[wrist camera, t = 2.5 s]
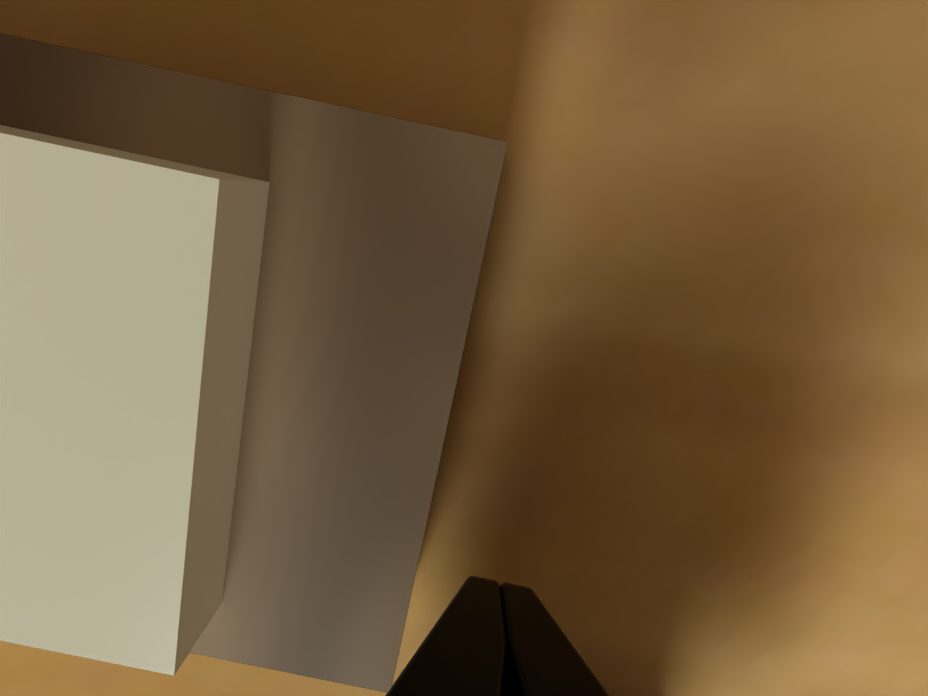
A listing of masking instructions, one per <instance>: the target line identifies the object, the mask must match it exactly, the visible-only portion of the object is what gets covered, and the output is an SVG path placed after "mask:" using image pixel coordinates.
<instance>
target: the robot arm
mask: <svg viewBox="0 0 928 696" xmlns="http://www.w3.org/2000/svg"><path fill="white" fill-rule="evenodd" d="M386 696H609V695H608V693H607V692H606V691H605V689H604V688H603V686H602V685H601V684H600V682H599V681H598V680H597V678H596V677H595V675H594V674H593V673H592V671H591V670H590V669H589V667H588V666H587V664H586V663H585V662H584V660H583V659H582V658H581V656H580V655H579V653H578V652H577V651H576V649H575V648H574V647H573V645H572V644H571V642H570V641H569V640H568V638H567V637H566V636H565V634H564V633H563V631H562V630H561V629H560V627H559V626H558V625H557V623H556V622H555V620H554V619H553V618H552V616H551V615H550V614H549V612H548V611H547V609H546V608H545V607H544V605H543V604H542V603H541V601H540V600H539V598H538V597H537V596H536V594H535V593H534V592H533V591H532V590H531V589H530V588H528V587H524V586H519V585H514V584H509V583H502V584H501V585H500V586H499V583H498V582H497V581H495V580H490V579H485V578H480V577H476V576H470V577H469V578H468V579H467V580H466V581H465V583H464V584H463V586H462V587H461V588H460V590H459V591H458V593H457V594H456V596H455V597H454V598H453V600H452V601H451V603H450V604H449V606H448V607H447V608H446V610H445V611H444V613H443V614H442V616H441V617H440V618H439V620H438V621H437V623H436V624H435V626H434V627H433V628H432V630H431V631H430V633H429V634H428V636H427V637H426V638H425V640H424V641H423V643H422V644H421V646H420V647H419V648H418V650H417V651H416V653H415V654H414V656H413V657H412V658H411V660H410V661H409V663H408V664H407V666H406V667H405V668H404V670H403V671H402V673H401V674H400V676H399V677H398V678H397V680H396V681H395V683H394V684H393V686H392V687H391V688H390V690H389V691H388V693H387V694H386Z"/></svg>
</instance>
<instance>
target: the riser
mask: <svg viewBox="0 0 928 696" xmlns="http://www.w3.org/2000/svg"><path fill="white" fill-rule="evenodd" d="M0 125H3V126H8V127H12V128H17V129H22V130H27V131H31V132H36V133H41V134H45V135H50V136H55V137H60V138H64V139H69V140H74V141H78V142H83V143H88V144H92V145H97V146H102V147H107V148H111V149H116V150H121V151H125V152H130V153H135V154H140V155H144V156H149V157H154V158H158V159H163V160H168V161H172V162H177V163H182V164H187V165H191V166H196V167H201V168H205V169H210V170H215V171H220V172H224V173H229V174H234V175H238V176H243V177H248V178H253V179H257V180H262V181H267V182H270V184H269V193H268V202H267V210H266V219H265V228H264V237H263V246H262V255H261V263H260V272H259V281H258V290H257V299H256V308H255V316H254V325H253V334H252V343H251V352H250V361H249V369H248V378H247V387H246V396H245V405H244V414H243V422H242V431H241V440H240V449H239V458H238V467H237V475H236V484H235V493H234V502H233V511H232V520H231V528H230V537H229V546H228V555H227V564H226V573H225V581H224V590H223V599H222V603H221V605H220V606H219V608H218V609H217V611H216V613H215V614H214V616H213V617H212V619H211V620H210V622H209V623H208V625H207V626H206V628H205V629H204V631H203V632H202V634H201V635H200V637H199V638H198V640H197V642H196V643H195V645H194V646H193V648H192V649H191V651H190V652H189V653H194V654H199V655H204V656H209V657H214V658H218V659H223V660H228V661H233V662H238V663H243V664H248V665H253V666H258V667H263V668H268V669H273V670H278V671H283V672H288V673H292V674H297V675H302V676H307V677H312V678H317V679H322V680H327V681H332V682H337V683H342V684H347V685H352V686H357V687H361V688H366V689H371V690H376V691H381V692H386V693H388V691H389V690H390V688H391V687H392V683H393V678H394V673H395V669H396V664H397V659H398V655H399V650H400V645H401V641H402V636H403V631H404V627H405V622H406V617H407V612H408V608H409V603H410V598H411V594H412V589H413V584H414V580H415V575H416V570H417V565H418V561H419V556H420V551H421V547H422V542H423V537H424V533H425V528H426V523H427V519H428V514H429V509H430V504H431V500H432V495H433V490H434V486H435V481H436V476H437V472H438V467H439V462H440V458H441V453H442V448H443V443H444V439H445V434H446V429H447V425H448V420H449V415H450V411H451V406H452V401H453V396H454V392H455V387H456V382H457V378H458V373H459V368H460V364H461V359H462V354H463V350H464V345H465V340H466V335H467V331H468V326H469V321H470V317H471V312H472V307H473V303H474V298H475V293H476V289H477V284H478V279H479V274H480V270H481V265H482V260H483V256H484V251H485V246H486V242H487V237H488V232H489V228H490V223H491V218H492V213H493V209H494V204H495V199H496V195H497V190H498V185H499V181H500V176H501V171H502V166H503V162H504V157H505V152H506V148H507V143H508V142H506V141H501V140H496V139H492V138H487V137H482V136H478V135H473V134H468V133H464V132H459V131H454V130H450V129H445V128H440V127H436V126H431V125H426V124H422V123H417V122H412V121H408V120H403V119H398V118H394V117H389V116H384V115H380V114H375V113H370V112H366V111H361V110H356V109H352V108H347V107H342V106H338V105H333V104H328V103H324V102H319V101H314V100H310V99H305V98H300V97H296V96H291V95H286V94H282V93H277V92H272V91H268V90H263V89H258V88H254V87H249V86H244V85H240V84H235V83H230V82H226V81H221V80H216V79H212V78H207V77H202V76H198V75H193V74H188V73H184V72H179V71H174V70H170V69H165V68H160V67H156V66H151V65H146V64H142V63H137V62H132V61H128V60H123V59H118V58H114V57H109V56H104V55H100V54H95V53H90V52H86V51H81V50H76V49H72V48H67V47H62V46H58V45H53V44H48V43H44V42H39V41H34V40H30V39H25V38H20V37H16V36H11V35H6V34H2V33H0Z"/></svg>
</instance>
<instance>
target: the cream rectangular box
mask: <svg viewBox="0 0 928 696" xmlns="http://www.w3.org/2000/svg"><path fill="white" fill-rule="evenodd" d="M269 184H270V182H267V181H262V180H257V179H253V178H248V177H243V176H238V175H234V174H229V173H224V172H220V171H215V170H210V169H205V168H201V167H196V166H191V165H187V164H182V163H177V162H172V161H168V160H163V159H158V158H154V157H149V156H144V155H140V154H135V153H130V152H125V151H121V150H116V149H111V148H107V147H102V146H97V145H92V144H88V143H83V142H78V141H74V140H69V139H64V138H60V137H55V136H50V135H45V134H41V133H36V132H31V131H27V130H22V129H17V128H12V127H8V126H3V125H0V641H5V642H10V643H15V644H20V645H25V646H30V647H35V648H40V649H45V650H50V651H55V652H60V653H65V654H70V655H75V656H79V657H84V658H89V659H94V660H99V661H104V662H109V663H114V664H119V665H124V666H129V667H134V668H139V669H144V670H149V671H154V672H159V673H164V674H168V675H173V676H174V675H175V674H176V672H177V670H178V669H179V667H180V666H181V664H182V663H183V661H184V660H185V658H186V657H187V655H188V654H189V652H190V651H191V649H192V648H193V646H194V645H195V643H196V642H197V640H198V638H199V637H200V635H201V634H202V632H203V631H204V629H205V628H206V626H207V625H208V623H209V622H210V620H211V619H212V617H213V616H214V614H215V613H216V611H217V609H218V608H219V606H220V605H221V603H222V599H223V590H224V581H225V573H226V564H227V555H228V546H229V537H230V528H231V520H232V511H233V502H234V493H235V484H236V475H237V467H238V458H239V449H240V440H241V431H242V422H243V414H244V405H245V396H246V387H247V378H248V369H249V361H250V352H251V343H252V334H253V325H254V316H255V308H256V299H257V290H258V281H259V272H260V263H261V255H262V246H263V237H264V228H265V219H266V210H267V202H268V193H269Z"/></svg>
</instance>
